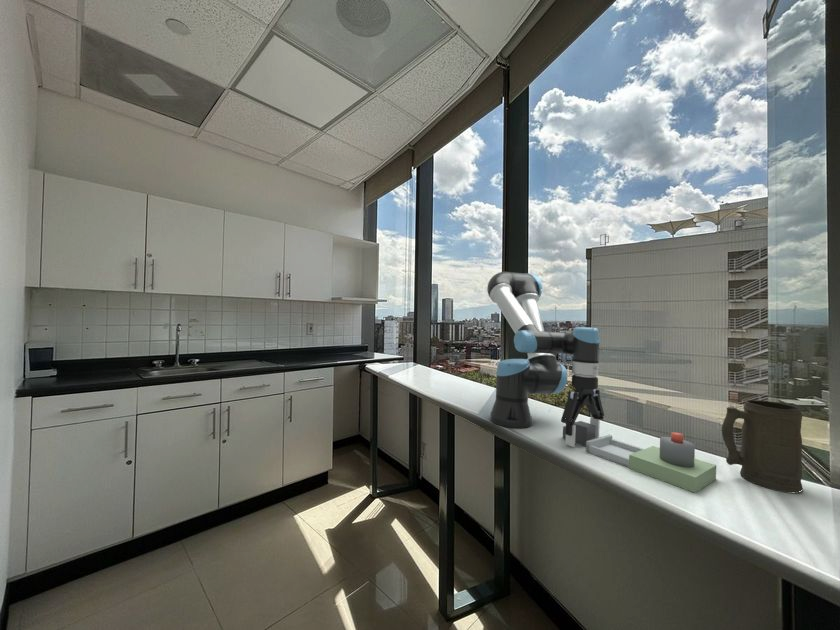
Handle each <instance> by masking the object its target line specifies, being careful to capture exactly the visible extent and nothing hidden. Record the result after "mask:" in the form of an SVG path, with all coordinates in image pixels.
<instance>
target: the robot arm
mask: <svg viewBox="0 0 840 630" xmlns="http://www.w3.org/2000/svg"><path fill="white" fill-rule="evenodd" d="M486 289H487V295H488V297H489V299H490V301H492V302H493V303H496V305H497V307H498V309H499V310H500V312H501V313H502V315H503V316H504V318H505V319H506V321H507V324H509V326H510V328H511V329H512V331H513V332H514V336H513V344H514V347H515V350H516V351H518V353H519V352H520V353H526V354H527V358H509V359H508V358H507V359H503V360H500V361H499V362H498V363H497V367H496V372H495V373H496V380H495V381H496V382H495V383H496V385H495V386H496V387H495V401H494V403H493V406H492V410H491V411H490V416H489V417H490V418H489V419H490V420H489V421H491V422H492V423H494V424H496V425H498V426H502V427H506V428H510V429H511V428H513V429H526V428H530V427H532V425H533V418H532V415H531V411H530V407H529V403H528V402H529V395H554V394H560V393H562V392H563V391H564V390H565V388H566V386H567V383H568V371H567V369H566V367H565V365H563V363H561V362H558V361H557V358H556V357H557V356H556V355H560V354H561V355H564V354H565V355H572V364H571V365H572V366H571V373H572V374H573V375H571V386H572V387H573V388H574V391H571V390H570V391H568V394H567V400H566V403H565V406H564V409H563V412H562V414H561V415H562V416H561V420H560V421H561V422H562V423H563V424H565V426H566V439H565V445H567V446H569V447H571V448H575V447H576V443H575V432H576V425H574V423H575V422H577V419H578V417H579V414H580V412H581V410H582V409H583V408H584V407H587V409H588V412H589V413H590V415H591V417H590V418H589V419H590V420H589V424H593V425H596V435H595V439H596V438H599V437H600V427H601V426H600V423H601V421H603V420H604V417H605V411H604V408H603V405H602V400H601V397H600V395H601V393H600V389H598V388H599V378H598V377H597V376H599V369H600V366H599V360H600V359H599V358H600V343H601V340H600V331H599V328H597V327H584V326H583V327H580V326H577V327H576V326H575V327H574V328H573V331H572V332H565V331H545V328H544V324H543V321H542V317H541V314H540V311H539V310H540V309H539V306H538V302H539V301H540V298H541V296H542V293H543V284H542V281H541V279H540V278H539V277H538V276H537V275H536V274H532V273H529V272H526V273H522V272H512V271H501V272H497V273H496V274H494V275H493V276H491V278H490V279H489V281H488V284H487V288H486ZM555 354H556V355H555ZM600 420H601V421H600Z"/></svg>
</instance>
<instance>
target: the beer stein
mask: <svg viewBox="0 0 840 630" xmlns="http://www.w3.org/2000/svg"><path fill="white" fill-rule="evenodd" d="M738 419H742V420H743V424H742V425H741V446H740V454H739V453H738V449H737V447H736V443H735V442H736V441H735V438H734V425H735V422H736V420H738ZM802 420H803V413H802V409H801V407H798V406H796V405H790V404H787V403H781V402H774V401H767V400H759V399H758V400H755V399H751V400H750V399H749V400H745V401H744V405H743V410H741V409H738V408H736V407H733V406H728V407H726V415H725V417H724V420H723V422H722V425H721V434H722V439H723V442H724V443H725V446H726V448H727V451H728V456H727V457H726V458H725V459H726V463H727V465H729V466H733V465H739V466H741V468H740V471H739V474H741V475H740V476H741V477H742V478H743V477H744V478H743V479H744V480H747V481H748V482H749V483H752V484H755V485H758V486H761V487H763V488H766V489H770V490H773V489H774V491H777V490H778V491H779V492H782V491H783V493H788V492H799V491H801V490H802V489H803V483H802V479H803V461H802V460H803V458H802V457H803V440H802V439H803V438H802V433H801V432H802ZM803 490H804V489H803Z"/></svg>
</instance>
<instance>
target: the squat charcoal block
mask: <svg viewBox="0 0 840 630" xmlns="http://www.w3.org/2000/svg"><path fill="white" fill-rule="evenodd" d="M574 425H576V432H575V444H577V445H580V446H584V447H586V441H589V440H592V439H595V435H596V425H593V424H590V422H589V423H588V422H585V421H582V420H579V421H575V423H574ZM563 438H564V439H563ZM562 439H563V440H566V425H564V426H562Z"/></svg>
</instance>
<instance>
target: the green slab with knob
mask: <svg viewBox="0 0 840 630" xmlns="http://www.w3.org/2000/svg"><path fill="white" fill-rule="evenodd" d="M695 451H696V445H695V444H694V443H693V442H690V441H688V440H686V439H684V434H683V433H681V432H673V431H672V432H671V435H670V436H661V437H659V447H658V446H654V445H651V446H648V447H647V448H643V447H640V446H636V445H632V444H630V443H626V442H624V441H621V440H618V439H614V438H613V435H611V434H607V435H603V436H599V438H596V439H592V440H589V441H586V446H585V452H587V453H589V454H592V455H595V456H597V457H599V458H603V459H606V460H608V461H610V462H613V463H616V464H619V465H622V466H624V467H627V468H628V469H629V470H630V469H631V470H633V471H635V472H638V473H641V474H643V475H646V476H649V477H652V478H654V479H657V480H660V481H663V482H664V483H667V484H670V485H672V486H676V487H677V488H678V487H679V488H680V489H684V490H686V491H689V492H692V493H697V492H699V491H700V490H702V489H703V488H705V487H706V486H707V485H710V484H711V483H713V482H714V481H716V480H717V464H715V463H714V464H713V463H711V462H707V461H705V460H701V459H698V458H695V453H696V452H695Z"/></svg>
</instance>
